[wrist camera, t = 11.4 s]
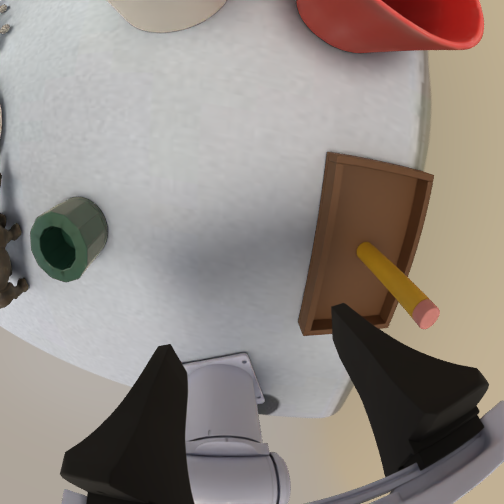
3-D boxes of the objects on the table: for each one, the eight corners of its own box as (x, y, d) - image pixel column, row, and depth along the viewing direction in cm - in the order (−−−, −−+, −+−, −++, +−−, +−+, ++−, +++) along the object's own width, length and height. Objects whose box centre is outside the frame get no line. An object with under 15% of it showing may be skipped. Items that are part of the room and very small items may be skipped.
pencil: (372, 256, 22) (437, 324, 13) (356, 260, 22) (417, 333, 13) (372, 239, 21) (442, 304, 13) (355, 244, 21) (422, 313, 13)
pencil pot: (117, 248, 20) (98, 273, 16) (70, 263, 20) (49, 287, 16) (94, 187, 17) (68, 201, 14) (47, 208, 17) (21, 226, 14)
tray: (379, 315, 26) (388, 327, 24) (297, 321, 25) (302, 336, 23) (420, 170, 19) (434, 175, 18) (326, 151, 18) (337, 154, 16)
